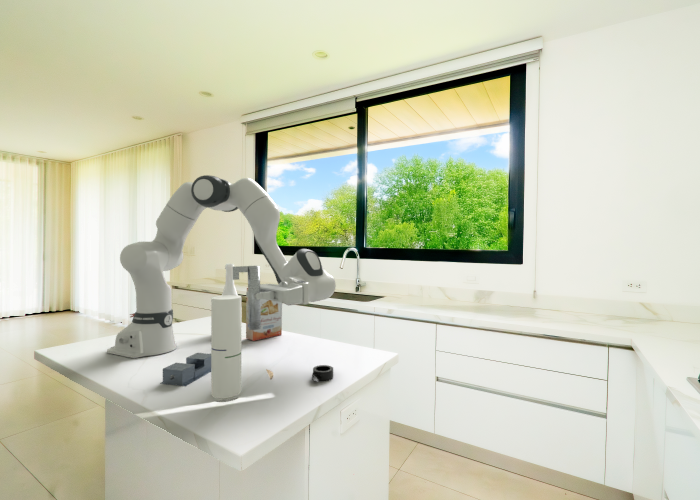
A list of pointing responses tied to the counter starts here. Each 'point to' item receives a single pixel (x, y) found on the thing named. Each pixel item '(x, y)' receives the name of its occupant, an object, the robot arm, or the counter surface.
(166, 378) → the vise
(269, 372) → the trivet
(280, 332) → the cracker box
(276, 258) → the robot arm
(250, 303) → the brushed metal post
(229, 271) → the white long rounded piece
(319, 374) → the black round winged cup
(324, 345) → the counter surface
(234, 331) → the cylindrical container
